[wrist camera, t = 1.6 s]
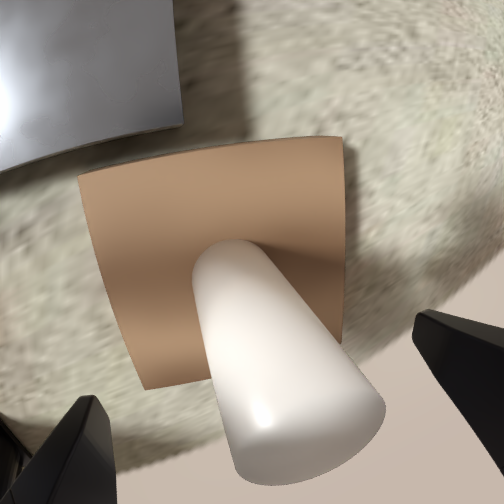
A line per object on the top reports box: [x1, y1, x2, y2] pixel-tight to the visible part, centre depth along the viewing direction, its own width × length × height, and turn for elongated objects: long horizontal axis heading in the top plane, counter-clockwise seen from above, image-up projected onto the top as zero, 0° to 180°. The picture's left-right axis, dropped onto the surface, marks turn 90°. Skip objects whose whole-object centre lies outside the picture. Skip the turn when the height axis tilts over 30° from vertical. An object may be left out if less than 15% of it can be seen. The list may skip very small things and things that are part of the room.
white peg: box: [192, 239, 386, 486], centre depth 9 cm, size 3×3×8 cm
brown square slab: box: [77, 136, 345, 390], centre depth 13 cm, size 10×10×2 cm
